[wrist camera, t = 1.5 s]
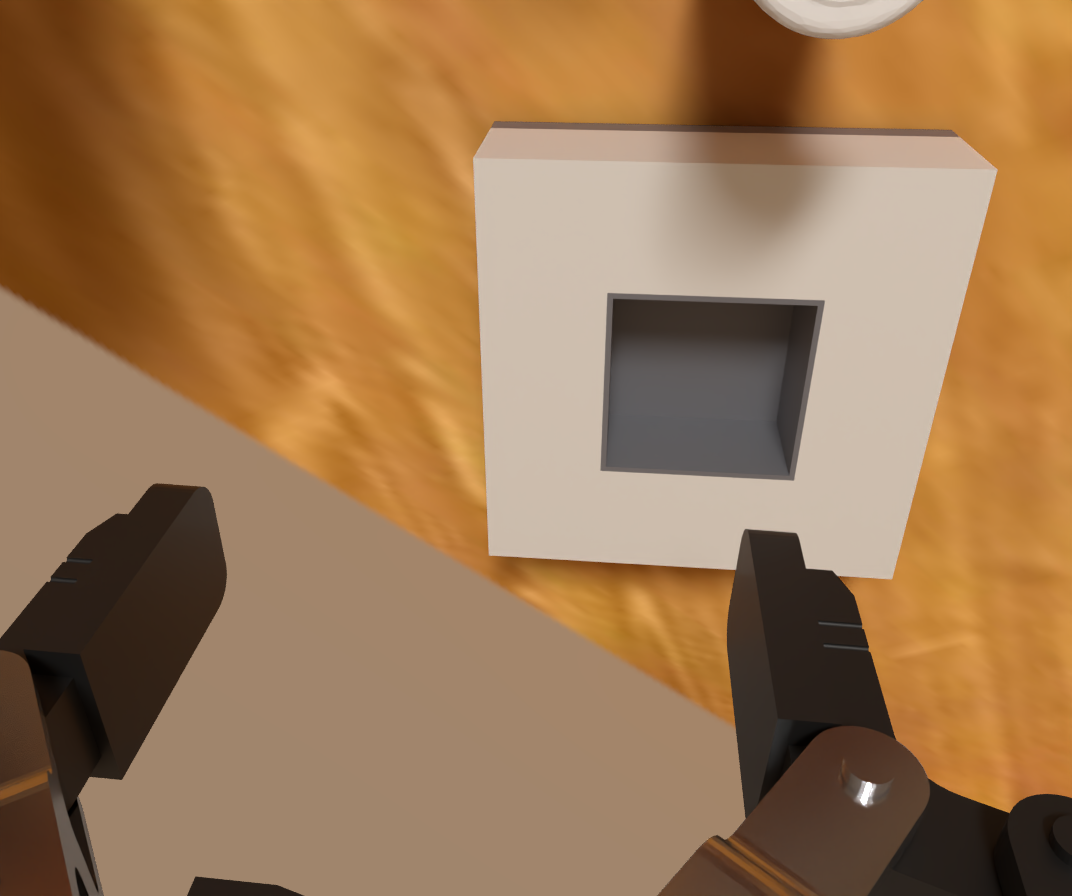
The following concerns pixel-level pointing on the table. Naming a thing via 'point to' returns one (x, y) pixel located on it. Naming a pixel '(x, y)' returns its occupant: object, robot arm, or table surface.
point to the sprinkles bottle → (836, 15)
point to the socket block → (716, 335)
